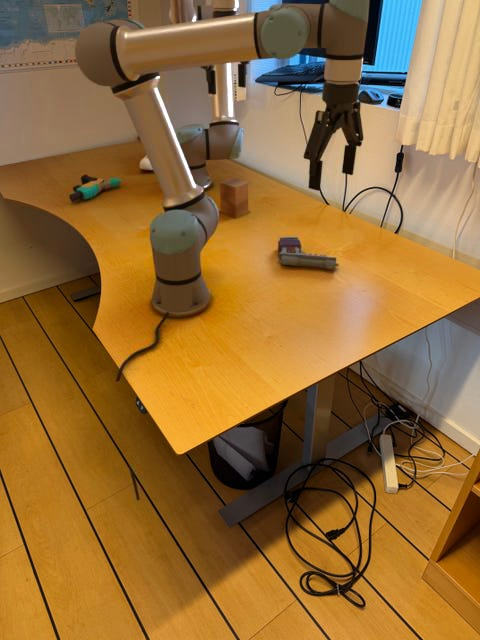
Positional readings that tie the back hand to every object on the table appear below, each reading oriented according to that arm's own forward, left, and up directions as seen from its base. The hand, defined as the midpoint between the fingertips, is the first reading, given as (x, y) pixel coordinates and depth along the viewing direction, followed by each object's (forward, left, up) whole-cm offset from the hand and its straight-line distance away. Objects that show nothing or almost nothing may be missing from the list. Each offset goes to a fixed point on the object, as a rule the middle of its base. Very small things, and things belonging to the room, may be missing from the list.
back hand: (227, 90), depth 149 cm
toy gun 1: (-48, -37, -41) cm, 73 cm away
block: (+1, +1, -41) cm, 41 cm away
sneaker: (-65, +1, -41) cm, 77 cm away
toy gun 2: (+43, +1, -41) cm, 59 cm away
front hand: (+59, -8, -10) cm, 60 cm away
